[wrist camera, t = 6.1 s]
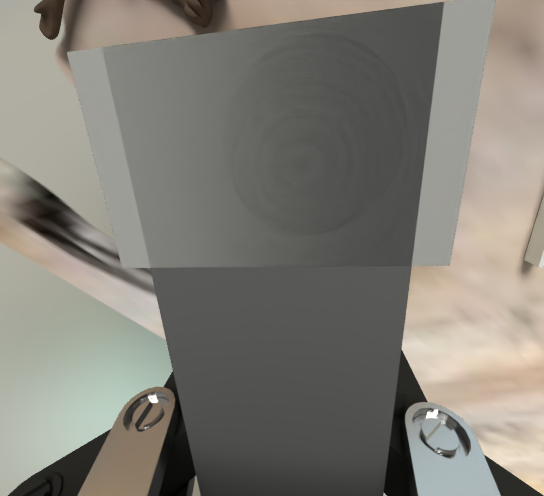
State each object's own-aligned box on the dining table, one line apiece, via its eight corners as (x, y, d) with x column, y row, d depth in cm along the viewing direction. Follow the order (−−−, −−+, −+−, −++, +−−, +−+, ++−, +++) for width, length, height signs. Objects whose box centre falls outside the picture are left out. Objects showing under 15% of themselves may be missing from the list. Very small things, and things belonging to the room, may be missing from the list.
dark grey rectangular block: (349, 474, 12) (379, 670, 7) (249, 464, 13) (218, 639, 8) (371, 105, 7) (496, -5, 3) (207, 120, 8) (66, 51, 3)
